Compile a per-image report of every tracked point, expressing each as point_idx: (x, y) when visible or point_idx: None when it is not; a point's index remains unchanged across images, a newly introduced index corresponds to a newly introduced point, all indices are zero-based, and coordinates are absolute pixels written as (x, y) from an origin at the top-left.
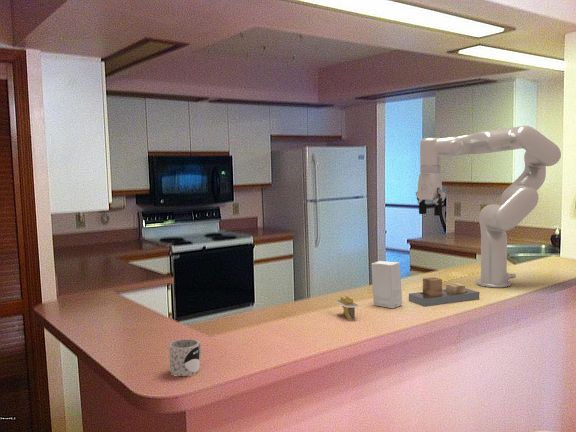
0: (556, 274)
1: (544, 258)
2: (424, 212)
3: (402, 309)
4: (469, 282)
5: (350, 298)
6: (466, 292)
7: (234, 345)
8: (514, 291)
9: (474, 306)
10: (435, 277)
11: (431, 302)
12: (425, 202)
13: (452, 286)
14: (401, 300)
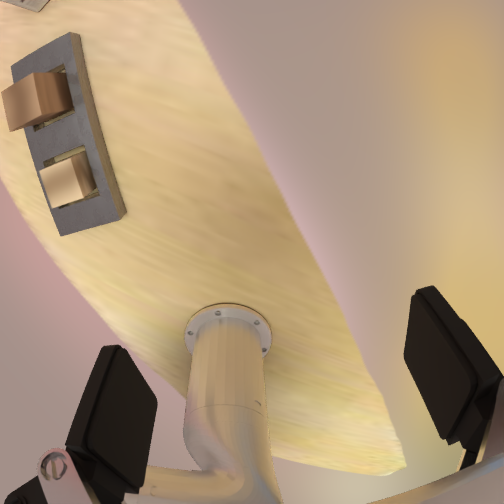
0: (287, 446)
1: (403, 458)
2: (410, 348)
3: (14, 12)
4: (273, 299)
5: None
6: (67, 205)
7: None
8: (145, 338)
9: (11, 186)
10: (35, 118)
11: None
12: (463, 451)
13: (47, 167)
14: (29, 9)
